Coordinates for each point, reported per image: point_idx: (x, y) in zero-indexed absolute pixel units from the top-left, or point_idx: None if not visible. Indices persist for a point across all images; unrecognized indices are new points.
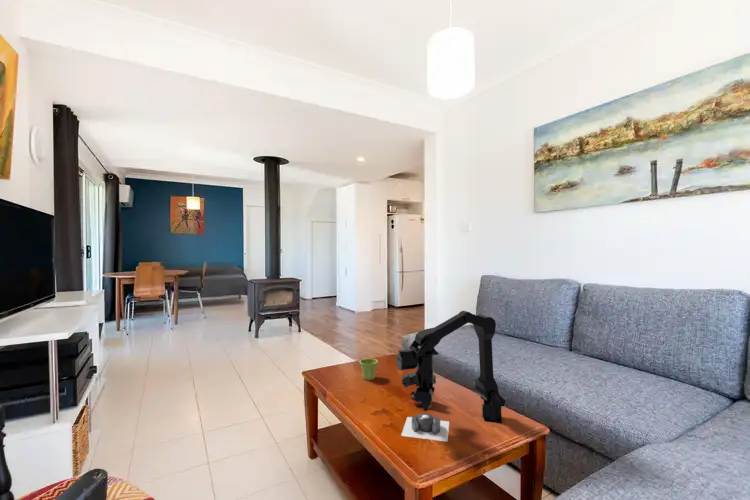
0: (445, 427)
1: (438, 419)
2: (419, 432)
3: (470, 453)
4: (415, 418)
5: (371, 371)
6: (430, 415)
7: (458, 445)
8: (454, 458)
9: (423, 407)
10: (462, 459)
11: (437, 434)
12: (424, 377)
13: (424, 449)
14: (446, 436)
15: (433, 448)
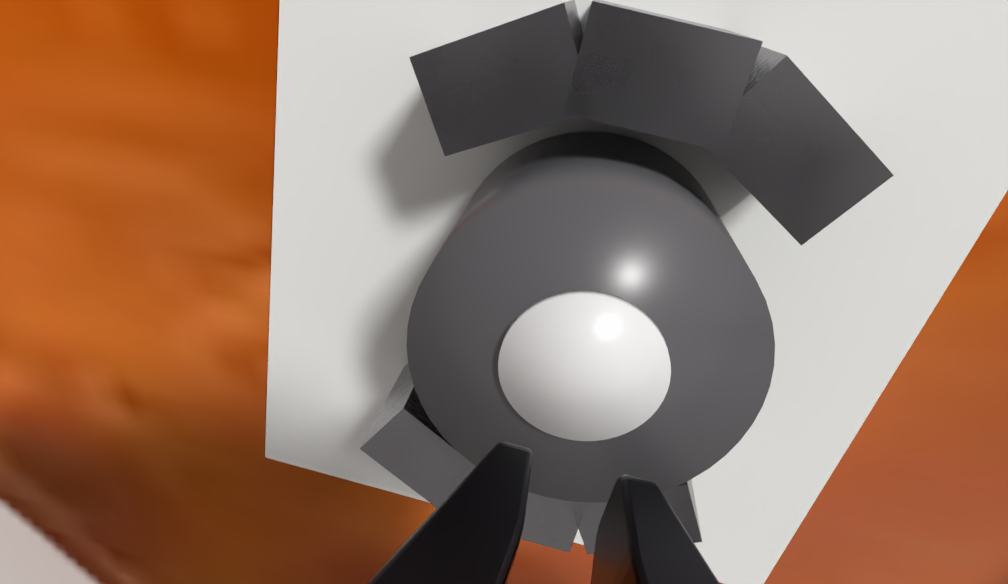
0: None
1: (588, 535)
2: None
3: (144, 572)
4: (667, 115)
5: None
6: (649, 468)
7: (248, 525)
8: (16, 436)
9: (436, 513)
10: (30, 492)
11: None
12: None
13: (54, 157)
14: (374, 473)
15: (115, 274)
